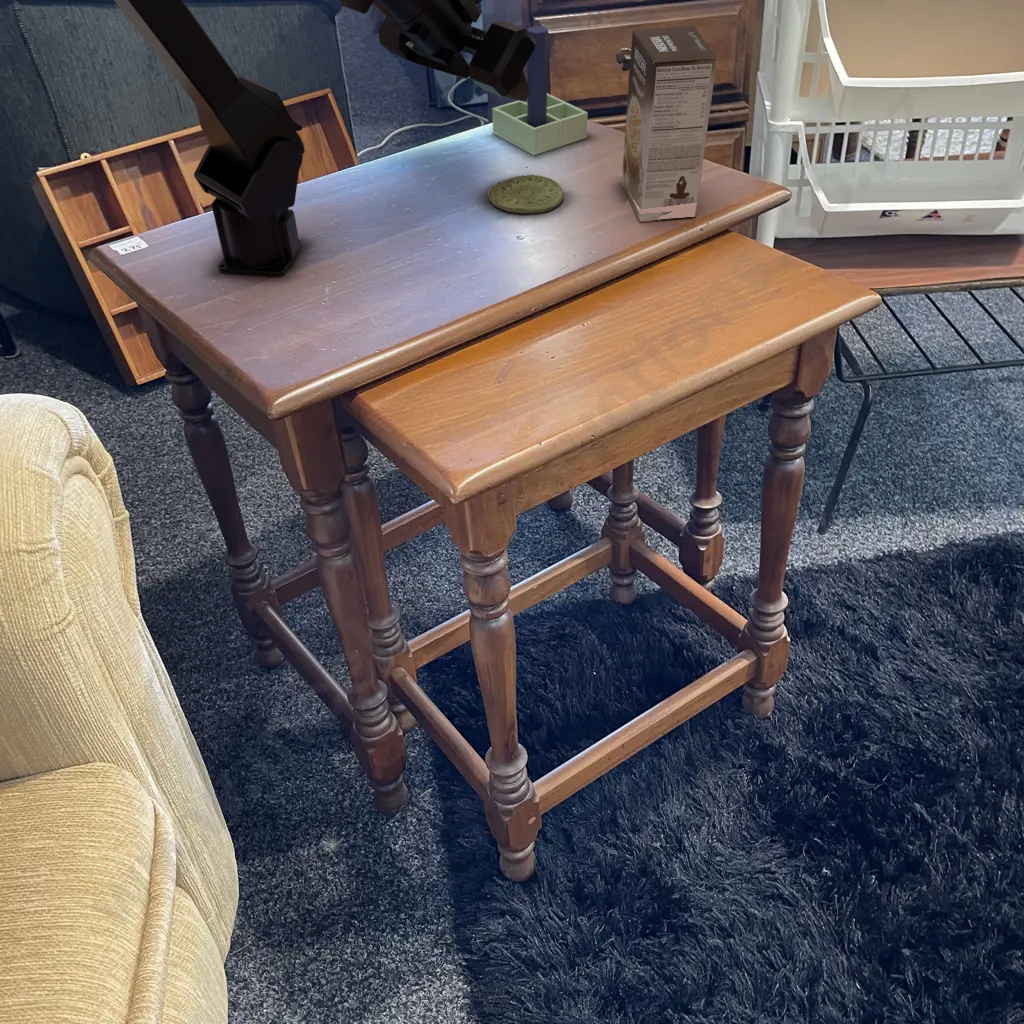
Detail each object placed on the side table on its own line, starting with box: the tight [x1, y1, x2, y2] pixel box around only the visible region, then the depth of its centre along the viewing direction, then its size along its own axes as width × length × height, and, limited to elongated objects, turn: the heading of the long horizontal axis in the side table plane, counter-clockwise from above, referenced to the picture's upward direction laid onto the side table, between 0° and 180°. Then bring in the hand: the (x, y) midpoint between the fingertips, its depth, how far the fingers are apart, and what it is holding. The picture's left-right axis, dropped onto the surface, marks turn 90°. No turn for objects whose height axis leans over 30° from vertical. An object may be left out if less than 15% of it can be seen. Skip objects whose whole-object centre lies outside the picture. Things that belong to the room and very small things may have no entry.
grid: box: [491, 92, 589, 156], centre depth 116 cm, size 8×8×3 cm
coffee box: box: [621, 25, 718, 223], centre depth 99 cm, size 9×6×16 cm
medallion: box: [487, 174, 564, 215], centre depth 105 cm, size 8×8×1 cm
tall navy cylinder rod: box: [526, 25, 549, 128], centre depth 110 cm, size 2×2×12 cm
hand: (497, 85), depth 106 cm, fingers open, 9 cm apart
